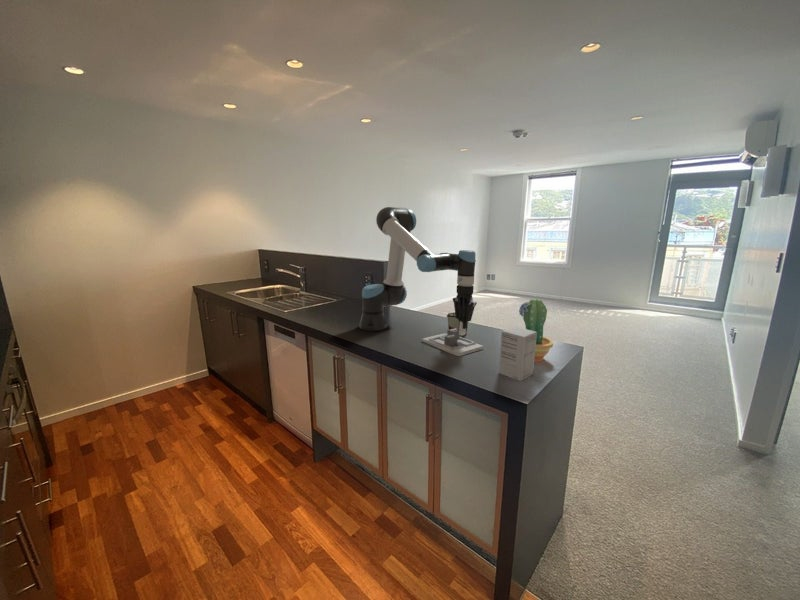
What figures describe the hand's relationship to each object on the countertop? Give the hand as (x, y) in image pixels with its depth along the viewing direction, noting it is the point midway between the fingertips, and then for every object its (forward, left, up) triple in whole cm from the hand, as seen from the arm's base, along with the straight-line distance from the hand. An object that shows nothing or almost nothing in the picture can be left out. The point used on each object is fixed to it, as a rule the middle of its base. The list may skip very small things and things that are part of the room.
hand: (462, 334), depth 156 cm
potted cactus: (+28, +13, -5) cm, 32 cm away
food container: (-16, +14, -5) cm, 22 cm away
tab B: (-6, 0, -3) cm, 7 cm away
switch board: (-3, -4, -5) cm, 7 cm away
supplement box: (+34, -7, -5) cm, 36 cm away
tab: (+1, -8, -3) cm, 9 cm away
